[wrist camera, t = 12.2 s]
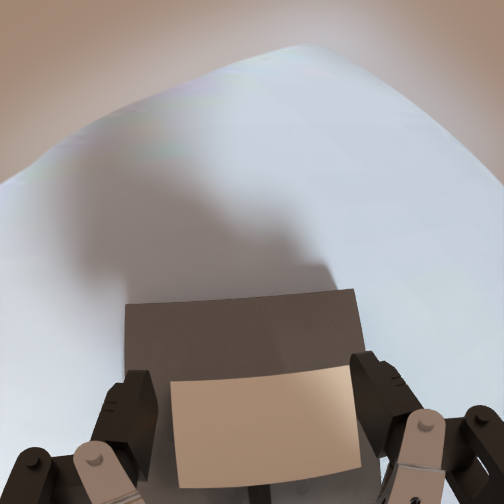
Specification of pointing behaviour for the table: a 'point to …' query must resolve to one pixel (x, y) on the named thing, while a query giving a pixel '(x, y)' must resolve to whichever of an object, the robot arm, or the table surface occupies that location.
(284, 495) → the grey fader track base
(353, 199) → the table surface
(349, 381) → the fader cap
